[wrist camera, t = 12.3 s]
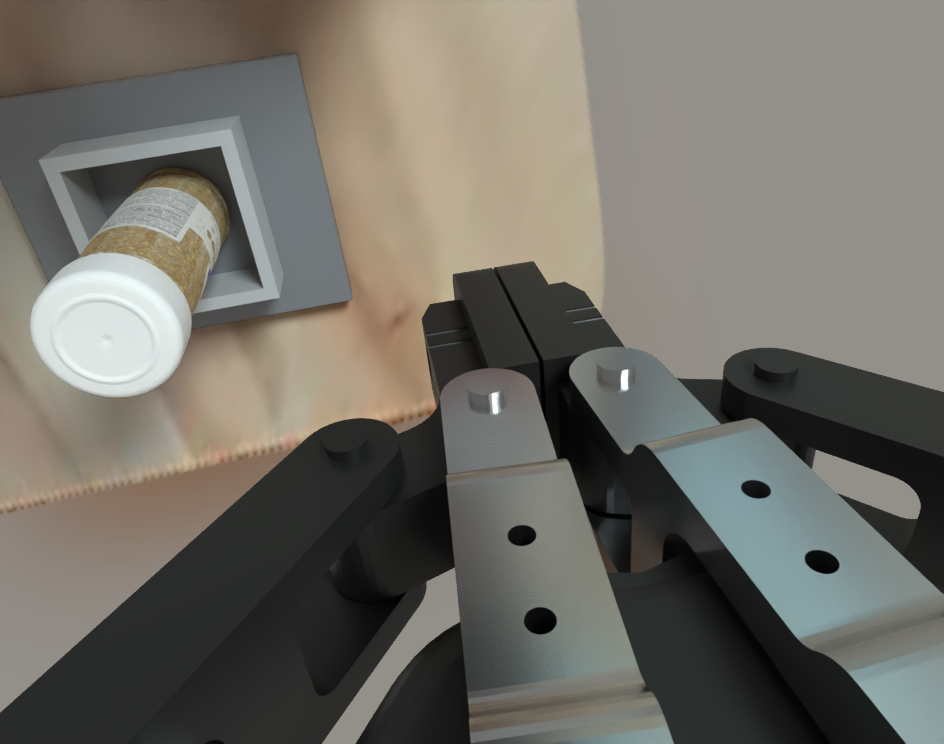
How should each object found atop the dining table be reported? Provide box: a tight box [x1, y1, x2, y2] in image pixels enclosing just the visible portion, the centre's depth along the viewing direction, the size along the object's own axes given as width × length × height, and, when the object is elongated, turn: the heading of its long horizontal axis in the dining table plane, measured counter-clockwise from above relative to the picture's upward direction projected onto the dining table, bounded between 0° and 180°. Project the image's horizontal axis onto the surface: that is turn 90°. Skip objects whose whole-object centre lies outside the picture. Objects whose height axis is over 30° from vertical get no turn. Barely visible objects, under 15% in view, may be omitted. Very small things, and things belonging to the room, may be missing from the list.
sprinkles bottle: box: [30, 168, 230, 398], centre depth 28 cm, size 5×5×13 cm
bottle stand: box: [0, 52, 352, 329], centre depth 33 cm, size 12×14×4 cm
